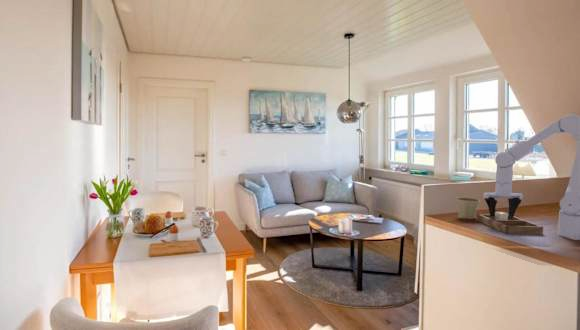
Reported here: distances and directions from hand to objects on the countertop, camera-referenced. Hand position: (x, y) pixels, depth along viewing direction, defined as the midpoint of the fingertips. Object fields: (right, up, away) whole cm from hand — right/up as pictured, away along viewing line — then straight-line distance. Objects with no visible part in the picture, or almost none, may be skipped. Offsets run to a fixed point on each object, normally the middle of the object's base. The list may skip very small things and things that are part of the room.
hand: (501, 216), depth 153 cm
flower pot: (-8, -3, +12) cm, 15 cm away
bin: (0, -4, -5) cm, 6 cm away
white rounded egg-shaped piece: (0, -3, 0) cm, 3 cm away
